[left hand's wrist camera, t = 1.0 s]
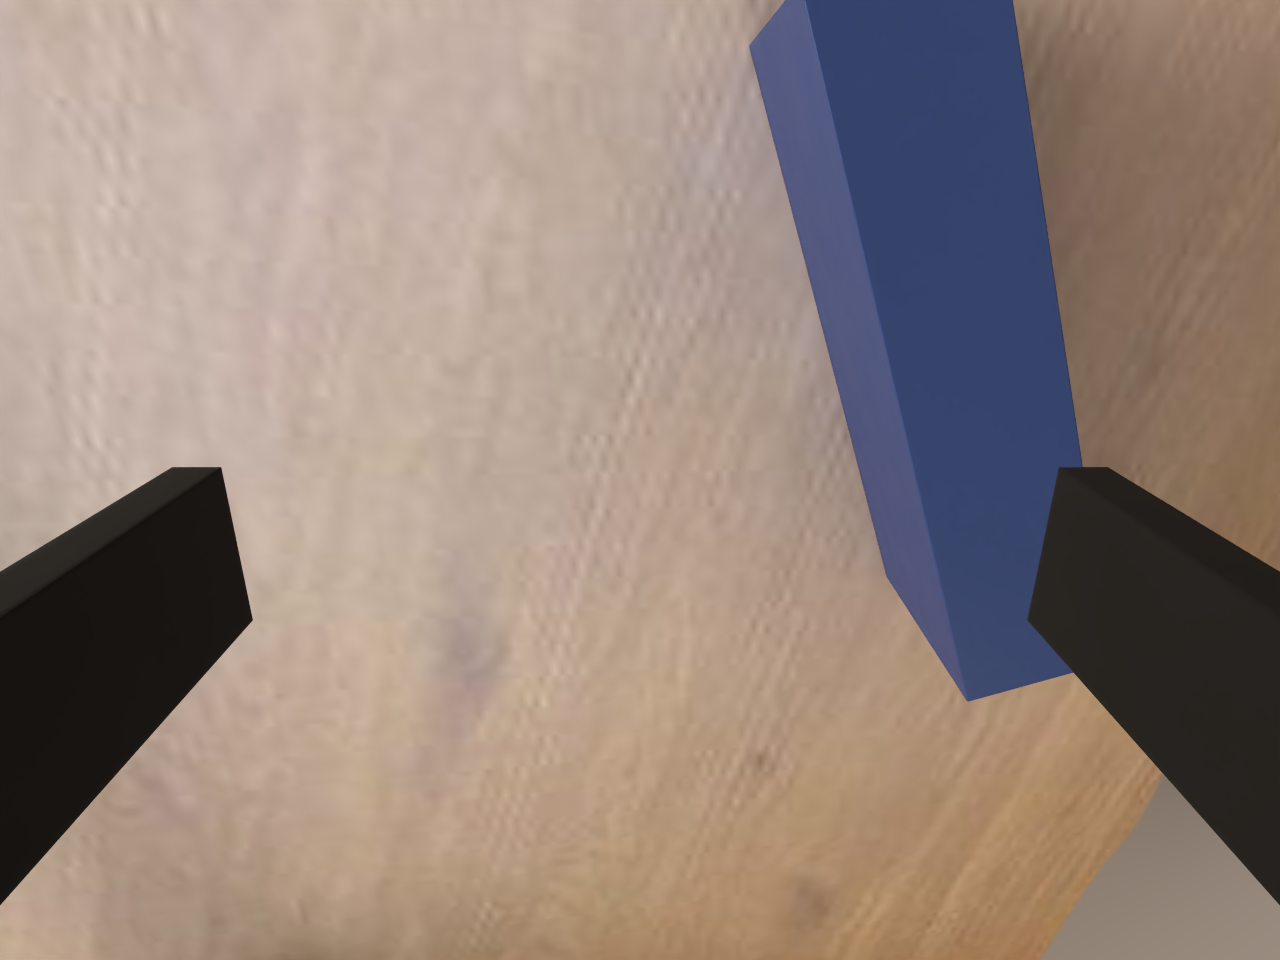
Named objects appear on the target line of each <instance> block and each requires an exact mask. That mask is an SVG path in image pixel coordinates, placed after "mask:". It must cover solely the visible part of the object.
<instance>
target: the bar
mask: <svg viewBox="0 0 1280 960" xmlns="http://www.w3.org/2000/svg"><path fill="white" fill-rule="evenodd" d="M749 47H750V51H751V55H752V59H753V63H754V66H755V70H756V74H757V78H758V82H759V86H760V90H761V93H762V97H763V101H764V105H765V109H766V113H767V117H768V120H769V124H770V128H771V132H772V136H773V140H774V143H775V147H776V151H777V155H778V159H779V163H780V167H781V170H782V174H783V178H784V182H785V186H786V190H787V194H788V197H789V201H790V205H791V209H792V213H793V217H794V221H795V224H796V228H797V232H798V236H799V240H800V244H801V248H802V251H803V255H804V259H805V263H806V267H807V271H808V275H809V278H810V282H811V286H812V290H813V294H814V298H815V302H816V305H817V309H818V313H819V317H820V321H821V325H822V329H823V332H824V336H825V340H826V344H827V348H828V352H829V356H830V359H831V363H832V367H833V371H834V375H835V379H836V383H837V386H838V390H839V394H840V398H841V402H842V406H843V410H844V413H845V417H846V421H847V425H848V429H849V433H850V437H851V440H852V444H853V448H854V452H855V456H856V460H857V464H858V467H859V471H860V475H861V479H862V483H863V487H864V491H865V494H866V498H867V502H868V506H869V510H870V514H871V518H872V521H873V525H874V529H875V533H876V537H877V541H878V545H879V548H880V552H881V556H882V560H883V564H884V568H885V572H886V575H887V578H888V580H889V581H890V583H891V584H892V586H893V587H894V589H895V590H896V592H897V593H898V595H899V597H900V598H901V600H902V601H903V603H904V604H905V606H906V607H907V609H908V610H909V612H910V614H911V615H912V617H913V618H914V620H915V621H916V623H917V624H918V626H919V628H920V629H921V631H922V632H923V634H924V635H925V637H926V638H927V640H928V641H929V643H930V645H931V646H932V648H933V649H934V651H935V652H936V654H937V655H938V657H939V658H940V660H941V662H942V663H943V665H944V666H945V668H946V669H947V671H948V672H949V674H950V675H951V677H952V679H953V680H954V682H955V683H956V685H957V686H958V688H959V689H960V691H961V693H962V694H963V696H964V697H965V699H966V700H967V701H972V700H975V699H979V698H983V697H986V696H990V695H994V694H997V693H1001V692H1004V691H1008V690H1012V689H1015V688H1019V687H1022V686H1026V685H1030V684H1033V683H1037V682H1040V681H1044V680H1048V679H1051V678H1055V677H1059V676H1062V675H1066V674H1069V673H1073V671H1072V670H1071V669H1070V668H1069V667H1068V666H1067V664H1066V663H1065V662H1064V661H1063V660H1062V659H1061V658H1060V657H1059V655H1058V654H1057V653H1056V652H1055V651H1054V650H1053V649H1052V648H1051V646H1050V645H1049V644H1048V643H1047V642H1046V641H1045V640H1044V638H1043V637H1042V636H1041V635H1040V634H1039V633H1038V632H1037V631H1036V629H1035V628H1034V627H1033V626H1032V625H1031V624H1030V623H1029V622H1028V620H1027V619H1028V614H1029V609H1030V604H1031V600H1032V595H1033V590H1034V585H1035V580H1036V575H1037V571H1038V566H1039V561H1040V556H1041V551H1042V546H1043V542H1044V537H1045V532H1046V527H1047V522H1048V517H1049V512H1050V508H1051V503H1052V498H1053V493H1054V488H1055V483H1056V479H1057V474H1058V469H1059V467H1083V466H1082V459H1081V453H1080V446H1079V439H1078V433H1077V426H1076V419H1075V413H1074V406H1073V399H1072V393H1071V386H1070V379H1069V373H1068V366H1067V359H1066V353H1065V346H1064V339H1063V333H1062V326H1061V319H1060V313H1059V306H1058V299H1057V293H1056V286H1055V279H1054V273H1053V266H1052V259H1051V253H1050V246H1049V239H1048V233H1047V226H1046V219H1045V213H1044V206H1043V200H1042V193H1041V186H1040V180H1039V173H1038V166H1037V160H1036V153H1035V146H1034V140H1033V133H1032V126H1031V120H1030V113H1029V106H1028V100H1027V93H1026V86H1025V80H1024V73H1023V66H1022V60H1021V53H1020V46H1019V40H1018V33H1017V26H1016V20H1015V13H1014V6H1013V0H785V2H784V3H783V4H782V5H781V7H780V8H779V9H778V10H777V12H776V13H775V14H774V15H773V17H772V18H771V19H770V20H769V22H768V23H767V24H766V25H765V27H764V28H763V29H762V30H761V32H760V33H759V34H758V35H757V37H756V38H755V39H754V41H753V42H752V43H751V44H750V46H749Z"/></svg>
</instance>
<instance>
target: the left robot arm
mask: <svg viewBox="0 0 1280 960" xmlns="http://www.w3.org/2000/svg"><path fill="white" fill-rule="evenodd" d="M252 620H253V619H252V614H251V609H250V604H249V600H248V595H247V590H246V585H245V580H244V575H243V571H242V566H241V561H240V556H239V551H238V546H237V542H236V537H235V532H234V527H233V522H232V517H231V512H230V508H229V503H228V498H227V493H226V488H225V483H224V479H223V474H222V469H221V467H172V468H170V469H169V470H167V471H165V472H164V473H162V474H160V475H159V476H157V477H156V478H154V479H152V480H151V481H149V482H147V483H146V484H144V485H142V486H141V487H139V488H137V489H136V490H134V491H132V492H131V493H129V494H128V495H126V496H124V497H123V498H121V499H119V500H118V501H116V502H114V503H113V504H111V505H109V506H108V507H106V508H104V509H103V510H101V511H100V512H98V513H96V514H95V515H93V516H91V517H90V518H88V519H86V520H85V521H83V522H81V523H80V524H78V525H77V526H75V527H73V528H72V529H70V530H68V531H67V532H65V533H63V534H62V535H60V536H58V537H57V538H55V539H53V540H52V541H50V542H49V543H47V544H45V545H44V546H42V547H40V548H39V549H37V550H35V551H34V552H32V553H30V554H29V555H27V556H25V557H24V558H22V559H21V560H19V561H17V562H16V563H14V564H12V565H11V566H9V567H7V568H6V569H4V570H2V571H1V572H0V905H1V904H2V903H3V901H4V900H5V899H6V898H7V897H8V896H9V895H10V893H11V892H12V891H13V890H14V889H15V888H16V887H17V886H18V884H19V883H20V882H21V881H22V880H23V879H24V878H25V877H26V875H27V874H28V873H29V872H30V871H31V870H32V869H33V868H34V866H35V865H36V864H37V863H38V862H39V861H40V860H41V859H42V857H43V856H44V855H45V854H46V853H47V852H48V851H49V849H50V848H51V847H52V846H53V845H54V844H55V843H56V842H57V840H58V839H59V838H60V837H61V836H62V835H63V834H64V833H65V831H66V830H67V829H68V828H69V827H70V826H71V825H72V824H73V822H74V821H75V820H76V819H77V818H78V817H79V816H80V815H81V813H82V812H83V811H84V810H85V809H86V808H87V807H88V805H89V804H90V803H91V802H92V801H93V800H94V799H95V798H96V796H97V795H98V794H99V793H100V792H101V791H102V790H103V789H104V787H105V786H106V785H107V784H108V783H109V782H110V781H111V780H112V778H113V777H114V776H115V775H116V774H117V773H118V772H119V771H120V769H121V768H122V767H123V766H124V765H125V764H126V763H127V761H128V760H129V759H130V758H131V757H132V756H133V755H134V754H135V752H136V751H137V750H138V749H139V748H140V747H141V746H142V745H143V743H144V742H145V741H146V740H147V739H148V738H149V737H150V736H151V734H152V733H153V732H154V731H155V730H156V729H157V728H158V727H159V725H160V724H161V723H162V722H163V721H164V720H165V719H166V717H167V716H168V715H169V714H170V713H171V712H172V711H173V710H174V708H175V707H176V706H177V705H178V704H179V703H180V702H181V701H182V699H183V698H184V697H185V696H186V695H187V694H188V693H189V692H190V690H191V689H192V688H193V687H194V686H195V685H196V684H197V682H198V681H199V680H200V679H201V678H202V677H203V676H204V675H205V673H206V672H207V671H208V670H209V669H210V668H211V667H212V666H213V664H214V663H215V662H216V661H217V660H218V659H219V658H220V657H221V655H222V654H223V653H224V652H225V651H226V650H227V649H228V648H229V646H230V645H231V644H232V643H233V642H234V641H235V640H236V638H237V637H238V636H239V635H240V634H241V633H242V632H243V631H244V629H245V628H246V627H247V626H248V625H249V624H250V623H251V622H252ZM1027 620H1028V622H1029V623H1030V624H1031V625H1032V626H1033V627H1034V628H1035V629H1036V631H1037V632H1038V633H1039V634H1040V635H1041V636H1042V637H1043V638H1044V640H1045V641H1046V642H1047V643H1048V644H1049V645H1050V646H1051V648H1052V649H1053V650H1054V651H1055V652H1056V653H1057V654H1058V655H1059V657H1060V658H1061V659H1062V660H1063V661H1064V662H1065V663H1066V664H1067V666H1068V667H1069V668H1070V669H1071V670H1072V671H1073V672H1074V673H1075V675H1076V676H1077V677H1078V678H1079V679H1080V680H1081V681H1082V682H1083V684H1084V685H1085V686H1086V687H1087V688H1088V689H1089V690H1090V692H1091V693H1092V694H1093V695H1094V696H1095V697H1096V698H1097V699H1098V701H1099V702H1100V703H1101V704H1102V705H1103V706H1104V707H1105V708H1106V710H1107V711H1108V712H1109V713H1110V714H1111V715H1112V716H1113V717H1114V719H1115V720H1116V721H1117V722H1118V723H1119V724H1120V725H1121V727H1122V728H1123V729H1124V730H1125V731H1126V732H1127V733H1128V734H1129V736H1130V737H1131V738H1132V739H1133V740H1134V741H1135V742H1136V743H1137V745H1138V746H1139V747H1140V748H1141V749H1142V750H1143V751H1144V752H1145V754H1146V755H1147V756H1148V757H1149V758H1150V759H1151V760H1152V761H1153V763H1154V764H1155V765H1156V766H1157V767H1158V768H1159V769H1160V771H1161V772H1162V773H1163V774H1164V775H1165V776H1166V777H1167V778H1168V780H1169V781H1170V782H1171V783H1172V784H1173V785H1174V786H1175V787H1176V788H1177V790H1178V791H1179V792H1180V793H1181V794H1182V795H1183V796H1184V798H1185V799H1186V800H1187V801H1188V802H1189V803H1190V804H1191V805H1192V807H1193V808H1194V809H1195V810H1196V811H1197V812H1198V813H1199V815H1200V816H1201V817H1202V818H1203V819H1204V820H1205V821H1206V822H1207V824H1208V825H1209V826H1210V827H1211V828H1212V829H1213V830H1214V831H1215V833H1216V834H1217V835H1218V836H1219V837H1220V838H1221V839H1222V840H1223V842H1224V843H1225V844H1226V845H1227V846H1228V847H1229V848H1230V849H1231V851H1232V852H1233V853H1234V854H1235V855H1236V856H1237V857H1238V858H1239V860H1240V861H1241V862H1242V863H1243V864H1244V865H1245V866H1246V867H1247V869H1248V870H1249V871H1250V872H1251V873H1252V874H1253V875H1254V877H1255V878H1256V879H1257V880H1258V881H1259V882H1260V883H1261V884H1262V886H1263V887H1264V888H1265V889H1266V890H1267V891H1268V892H1269V893H1270V895H1271V896H1272V897H1273V898H1274V899H1275V900H1276V901H1277V902H1278V904H1279V905H1280V572H1279V571H1278V570H1276V569H1274V568H1273V567H1271V566H1269V565H1268V564H1266V563H1264V562H1263V561H1261V560H1259V559H1258V558H1256V557H1255V556H1253V555H1251V554H1250V553H1248V552H1246V551H1245V550H1243V549H1241V548H1240V547H1238V546H1236V545H1235V544H1233V543H1231V542H1230V541H1228V540H1227V539H1225V538H1223V537H1222V536H1220V535H1218V534H1217V533H1215V532H1213V531H1212V530H1210V529H1208V528H1207V527H1205V526H1203V525H1202V524H1200V523H1199V522H1197V521H1195V520H1194V519H1192V518H1190V517H1189V516H1187V515H1185V514H1184V513H1182V512H1180V511H1179V510H1177V509H1176V508H1174V507H1172V506H1171V505H1169V504H1167V503H1166V502H1164V501H1162V500H1161V499H1159V498H1157V497H1156V496H1154V495H1152V494H1151V493H1149V492H1148V491H1146V490H1144V489H1143V488H1141V487H1139V486H1138V485H1136V484H1134V483H1133V482H1131V481H1129V480H1128V479H1126V478H1124V477H1123V476H1121V475H1120V474H1118V473H1116V472H1115V471H1113V470H1111V469H1110V468H1108V467H1059V469H1058V474H1057V479H1056V483H1055V488H1054V493H1053V498H1052V503H1051V508H1050V512H1049V517H1048V522H1047V527H1046V532H1045V537H1044V542H1043V546H1042V551H1041V556H1040V561H1039V566H1038V571H1037V575H1036V580H1035V585H1034V590H1033V595H1032V600H1031V604H1030V609H1029V614H1028V619H1027Z"/></svg>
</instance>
